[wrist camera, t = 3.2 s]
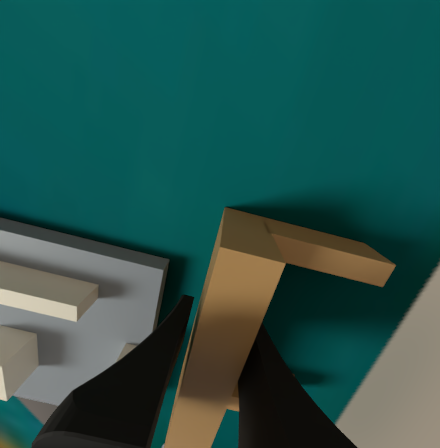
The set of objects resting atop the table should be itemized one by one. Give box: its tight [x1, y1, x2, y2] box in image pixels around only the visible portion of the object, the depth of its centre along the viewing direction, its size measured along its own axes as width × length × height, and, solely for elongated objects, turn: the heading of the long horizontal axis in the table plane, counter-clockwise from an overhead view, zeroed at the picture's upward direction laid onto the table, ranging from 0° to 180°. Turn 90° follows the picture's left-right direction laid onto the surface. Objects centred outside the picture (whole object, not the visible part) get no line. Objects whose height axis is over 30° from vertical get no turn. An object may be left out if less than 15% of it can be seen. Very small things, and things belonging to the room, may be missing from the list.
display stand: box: [0, 218, 170, 406], centre depth 13 cm, size 14×17×3 cm
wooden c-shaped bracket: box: [164, 207, 396, 448], centre depth 11 cm, size 8×12×5 cm, turn 166°
